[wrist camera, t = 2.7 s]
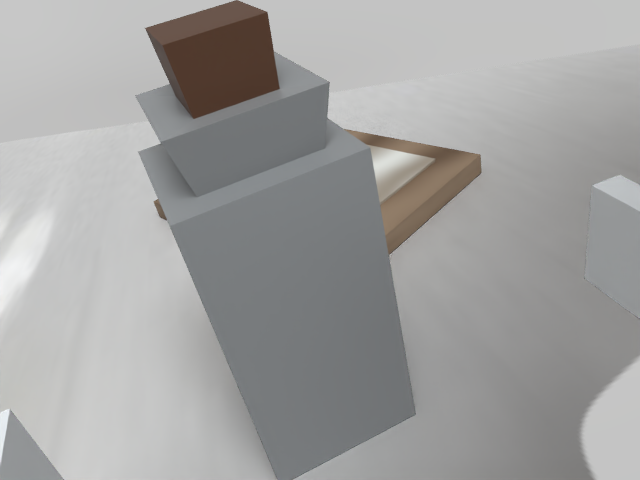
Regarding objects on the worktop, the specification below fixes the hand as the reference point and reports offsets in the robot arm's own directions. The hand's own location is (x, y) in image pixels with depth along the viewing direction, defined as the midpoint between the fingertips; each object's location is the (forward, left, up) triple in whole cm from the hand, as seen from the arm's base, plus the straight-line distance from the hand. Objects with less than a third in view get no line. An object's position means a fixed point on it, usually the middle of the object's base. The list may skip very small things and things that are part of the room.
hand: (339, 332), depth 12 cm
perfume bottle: (+9, -5, -13) cm, 16 cm away
